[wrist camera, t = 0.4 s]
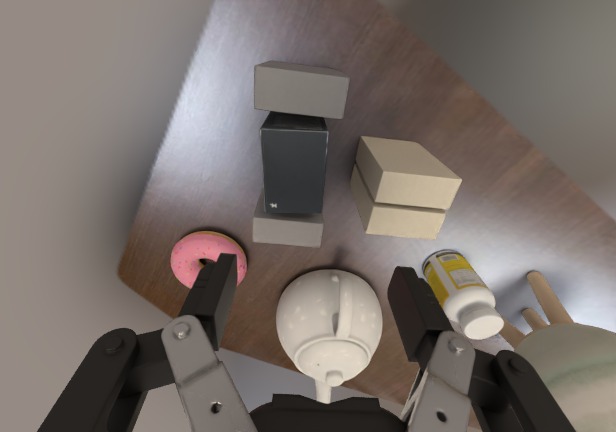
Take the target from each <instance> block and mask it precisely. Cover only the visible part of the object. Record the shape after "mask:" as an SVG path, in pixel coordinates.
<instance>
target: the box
mask: <svg viewBox="0 0 616 432" xmlns="http://www.w3.org/2000/svg"><path fill="white" fill-rule="evenodd" d="M259 132H260V139H261V149H262V165H263V184H264V210H265V212H266V213H322V209H323V195H324V183H325V171H326V156H327V144H328V130H327V127H326V124H325V121H324V118H323V117H317V116H308V115H300V114H292V113H283V112H275V111H270V113H269V115H268V116H267V118H266V120H265V122H264V123H263V125H262V127H261V128H260V130H259Z"/></svg>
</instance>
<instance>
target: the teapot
mask: <svg viewBox="0 0 616 432" xmlns="http://www.w3.org/2000/svg"><path fill="white" fill-rule="evenodd" d="M276 326H277V332H278V336H279V339H280V342H281V344H282V346H283V348H284V350H285V352H286V353H287V355H288V356H289V357H290V359H291V360H292V361H293V362H294V363H295V365H296V367H297V368H298V369H299V370H300V371H301V372H302V373H304V374H306V375H308V376H310V377H312V378H314V379H315V384H316V393H317V397H316V401H319V402H322V403H326V404H328V403H330V396H331V386H339V385H341V384H342V383H343V381H346V380H349V379H351V378H353V377H355V376H356V375H357V374H359V373H360V372H361V371H362V370H363V369H364V368H366V367H367V365H368V364H369V362H370V360H371V357H372V355H373V354H374V352H375V350H376V348H377V346H378V344H379V341H380V337H381V333H382V312H381V308H380V304H379V301H378V299H377V296H376V294H375V293H374V291H373V289H372V288H371V287H370V286H369V285H368V283H366V282H365V281H364V280H363V279H361V278H360V277H358V276H356V275H354V274H352V273H349V272H346V271H341V270H337V269H335V270H333V269H331V270H318V271H313V272H309V273H307V274H304V275H302V276H300V277H298V278H297V279H295V280H294V281H293V282H291V283H290V284H289V285H288V286H287V288H286V289H285V290H284V292H283V293H282V295H281V297H280V300H279V303H278V307H277V313H276Z"/></svg>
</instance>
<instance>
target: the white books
mask: <svg viewBox="0 0 616 432" xmlns="http://www.w3.org/2000/svg"><path fill="white" fill-rule="evenodd" d="M355 160H356V162H357V164H354V167H353V172H352V177H351V181H350V187H351V190H352V193H353V196H354V199H355V202H356V205H357V208H358V211H359V214H360V217H361V221H362V224H363V227H364V230H365V233H366V234H376V235H387V236H398V237H409V238H420V239H431V240H435V239H436V236H437V234H438V232H439V230H440V228H441V225H442V223H443V221H444V219H445V217H446V213H445V212H444V211H443V210H442V209H449V208H450V206H451V203H452V201H453V199H454V197H455V195H456V192H457V190H458V188H459V186H460V184H461V182H462V179H461V178H459V177H458V176H457V175H456V174H455V173H453V172H452V171H451V170H450V169H448V168H447V167H446V166H445V165H444V164H442V163H441V162H440V161H439V160H438V159H436V158H435V157H434V156H433V155H432V154H430V153H429V152H428V151H427V150H426V149H424V148H423V147H422V146H421V145H420V144H418V143H417V142H410V141H401V140H393V139H384V138H376V137H367V136H360V140H359V145H358V149H357V154H356V158H355Z"/></svg>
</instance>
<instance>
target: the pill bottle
mask: <svg viewBox="0 0 616 432" xmlns="http://www.w3.org/2000/svg"><path fill="white" fill-rule="evenodd" d="M423 273H424V275H425V277H426V279H427V281H428V283H429V285H430V286H431V288H432V290H433V292H434V294H435V296H436V297H437V299H438V301H439V303H440V305H441V307H442V309H443V310H444V312H445V314H446V316H447V317H448V318H449V319H450V320H452V321H454V322H456V323H459V325H460V327H461V329H462V330H463V332H464V334H465V335H466V336H467V337H468V338H471V339H485V338H488V337H491V336H493V335H495V334H497V333H498V332H499V331H500V330H501V329H502V327H503V325H504V322H503V319H502V318H501V317H500V315H499V314H498V312H497V311H496V310H495V309H494V308H495V298H494V295H493V294H492V292H491V291H490V290H489V289H488V287H487V286H486V285H485V283H484V282H483V281H482V280H481V278H480V277H479V276H478V275H477V273H476V272H475V271H474V269H473V268H472V267H471V266H470V264H469V263H468V262H467V261H466V259H465V258H464V257H463V256H462V255H461V254H460V253H458V252H455V251H441V252H438V253H436V254H434V255H432V256H431V257H430V258H429V259H428V260H427V261H426V262H425V264H424V267H423Z"/></svg>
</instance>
